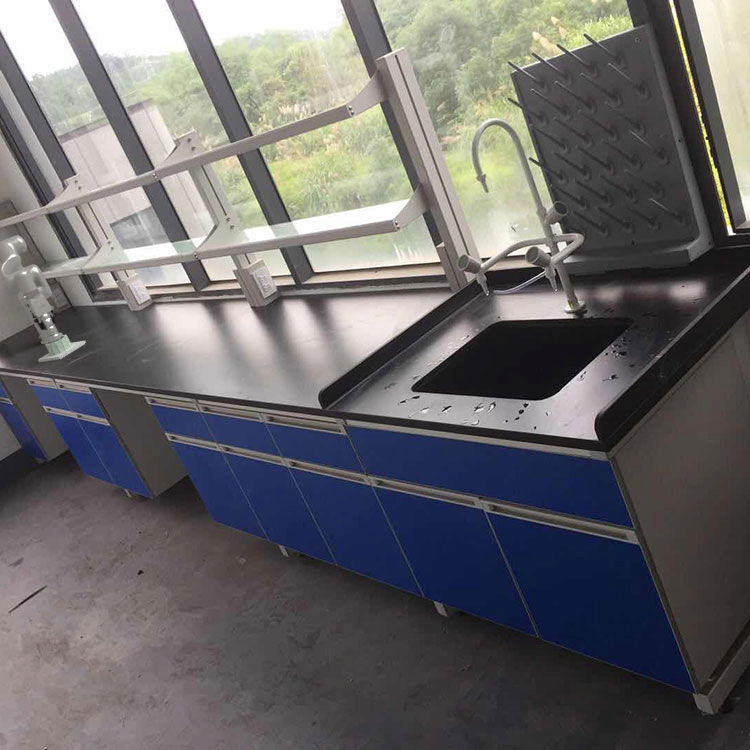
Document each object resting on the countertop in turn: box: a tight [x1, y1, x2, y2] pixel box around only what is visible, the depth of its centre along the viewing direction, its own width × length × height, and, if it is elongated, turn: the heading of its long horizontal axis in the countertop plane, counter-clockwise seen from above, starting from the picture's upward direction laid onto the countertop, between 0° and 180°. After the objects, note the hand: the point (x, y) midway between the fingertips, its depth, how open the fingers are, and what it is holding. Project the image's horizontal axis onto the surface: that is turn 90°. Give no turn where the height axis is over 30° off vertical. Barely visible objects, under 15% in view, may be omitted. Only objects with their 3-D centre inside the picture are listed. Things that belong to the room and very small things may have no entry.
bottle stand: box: [37, 334, 87, 363], centre depth 414 cm, size 18×18×8 cm
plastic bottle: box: [40, 313, 62, 343], centre depth 410 cm, size 6×7×20 cm
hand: (48, 326), depth 410 cm, fingers closed on plastic bottle, 6 cm apart
